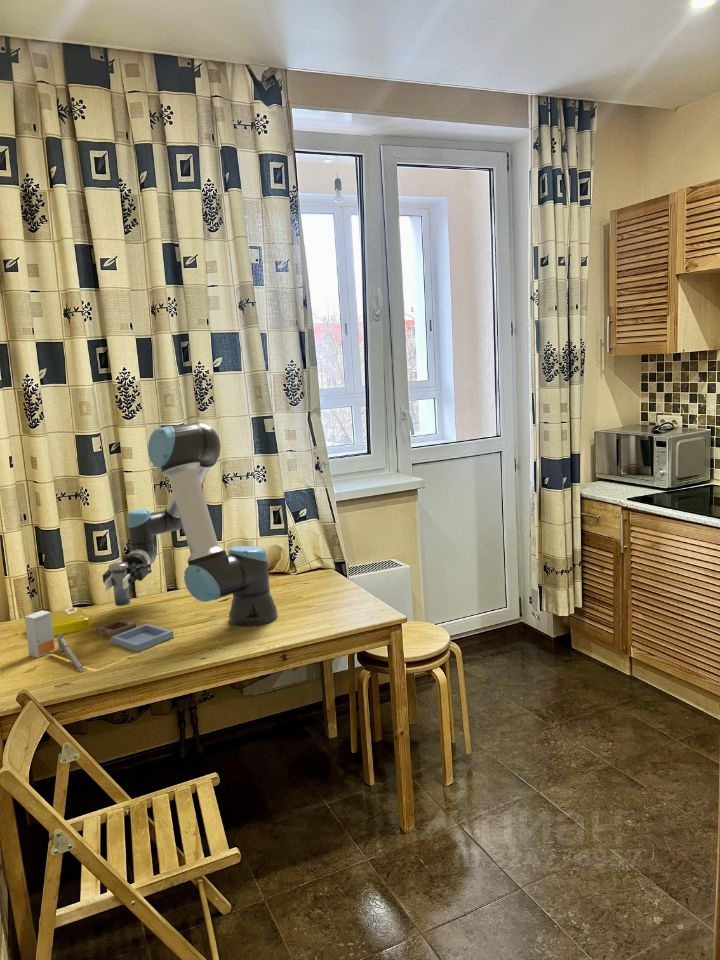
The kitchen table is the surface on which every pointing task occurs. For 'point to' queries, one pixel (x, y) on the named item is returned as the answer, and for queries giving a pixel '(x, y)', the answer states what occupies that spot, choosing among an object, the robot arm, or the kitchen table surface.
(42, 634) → the skincare box
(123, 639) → the tray
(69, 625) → the element tile
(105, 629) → the socket block
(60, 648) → the caliper
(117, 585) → the blue-grey cylinder
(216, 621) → the kitchen table surface
